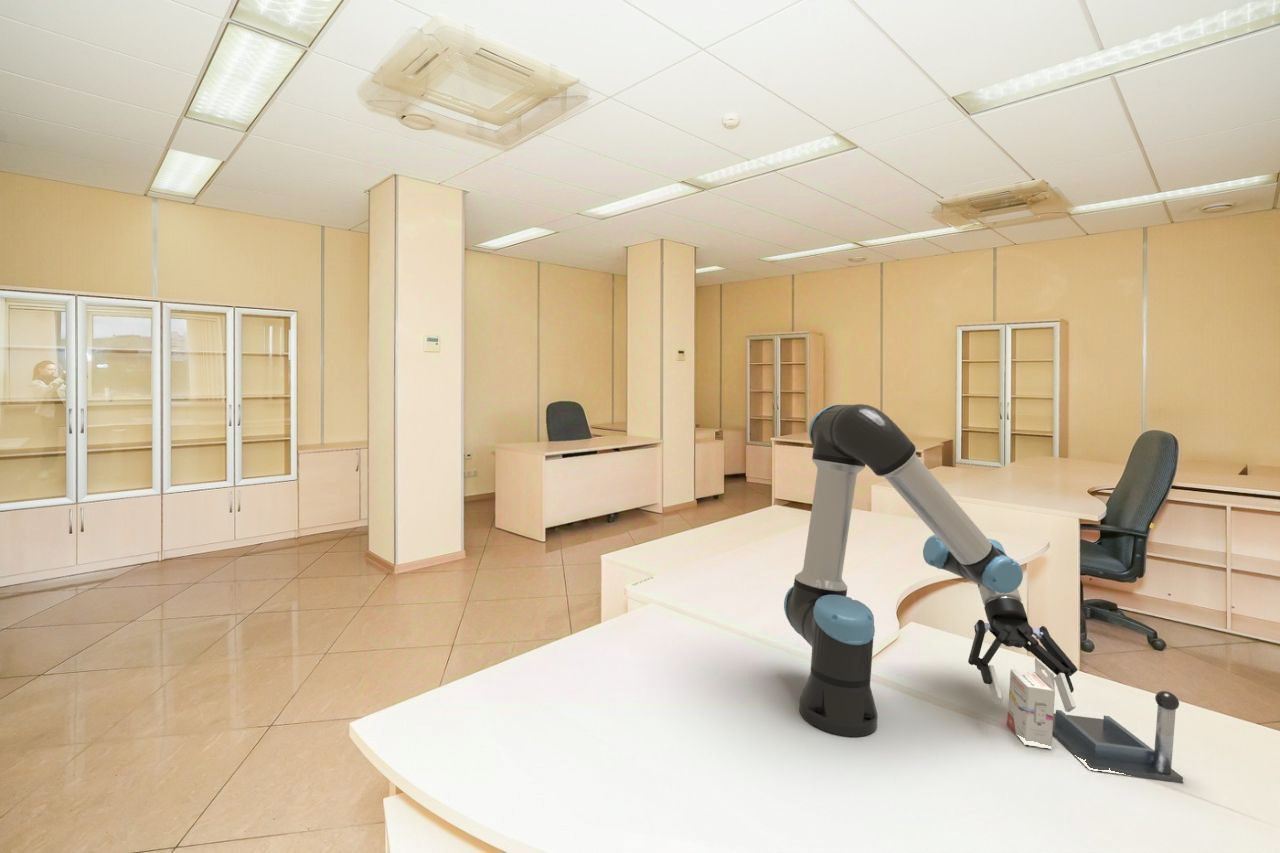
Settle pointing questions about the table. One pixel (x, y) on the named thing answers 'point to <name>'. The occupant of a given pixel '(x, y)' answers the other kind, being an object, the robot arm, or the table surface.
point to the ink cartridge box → (1032, 704)
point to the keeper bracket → (1122, 742)
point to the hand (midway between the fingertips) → (1034, 705)
